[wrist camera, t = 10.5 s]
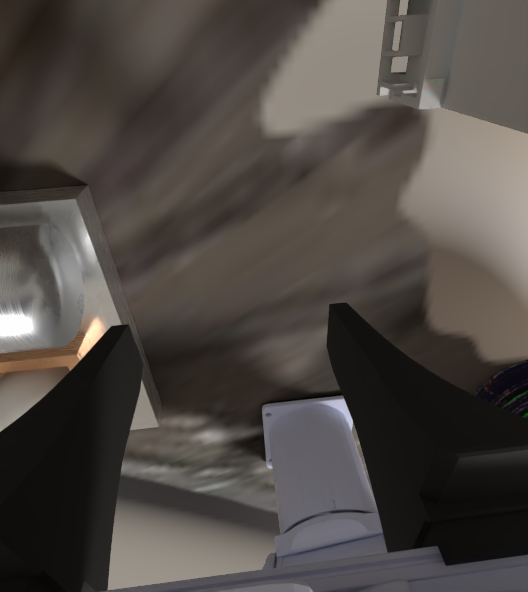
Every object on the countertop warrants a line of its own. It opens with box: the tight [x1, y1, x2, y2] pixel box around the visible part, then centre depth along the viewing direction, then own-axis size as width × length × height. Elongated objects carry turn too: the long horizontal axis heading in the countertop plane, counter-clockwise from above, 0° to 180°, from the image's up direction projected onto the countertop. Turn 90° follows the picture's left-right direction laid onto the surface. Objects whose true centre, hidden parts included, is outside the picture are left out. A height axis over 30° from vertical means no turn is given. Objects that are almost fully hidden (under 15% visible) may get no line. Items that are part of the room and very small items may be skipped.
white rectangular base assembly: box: [0, 185, 162, 430], centre depth 21 cm, size 18×12×8 cm, turn 3°
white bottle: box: [0, 366, 70, 432], centre depth 21 cm, size 4×4×7 cm
